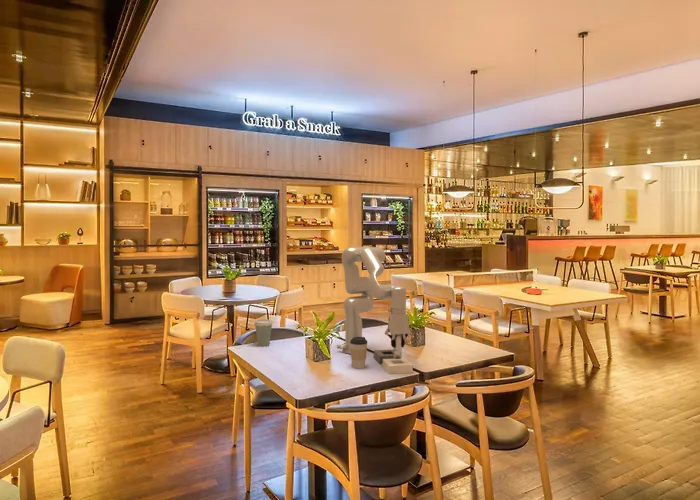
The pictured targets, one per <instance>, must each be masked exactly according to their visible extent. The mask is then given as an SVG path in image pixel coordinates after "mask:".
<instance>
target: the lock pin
mask: <svg viewBox="0 0 700 500" xmlns="http://www.w3.org/2000/svg"><path fill="white" fill-rule="evenodd" d="M394 340H395V348H393V349H394V359H401V358H403V357H402V355H403V354H402V353H403V352H402V351H403V347H402V334H395V337H394Z"/></svg>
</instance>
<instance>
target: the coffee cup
mask: <svg viewBox="0 0 700 500" xmlns="http://www.w3.org/2000/svg"><path fill="white" fill-rule="evenodd" d="M350 344H351V347H350V350H351V354H350V360H351V367H352V368H353V369H359V370H361V369H364V368H366V359H367V352H368V351H367V350H368V339H366V337H365V336H362V337H354V338H352V340H351V341H350Z"/></svg>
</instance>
